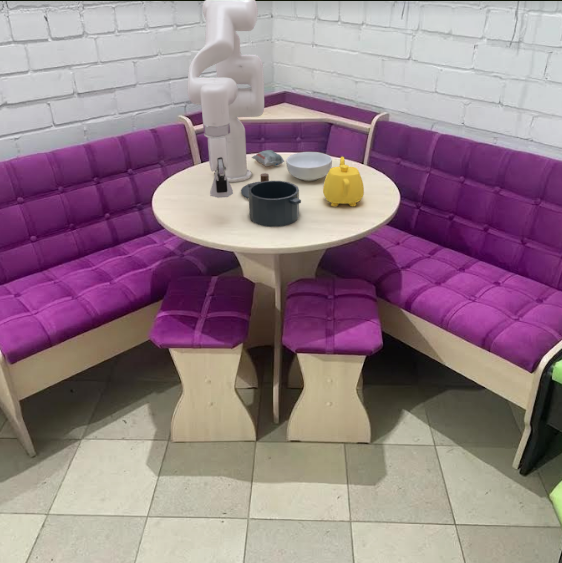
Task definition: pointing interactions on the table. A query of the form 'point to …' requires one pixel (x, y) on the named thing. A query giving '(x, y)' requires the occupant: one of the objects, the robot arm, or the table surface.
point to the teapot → (343, 185)
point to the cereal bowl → (309, 165)
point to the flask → (223, 194)
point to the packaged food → (268, 158)
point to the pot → (273, 203)
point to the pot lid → (263, 178)
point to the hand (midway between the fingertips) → (221, 187)
